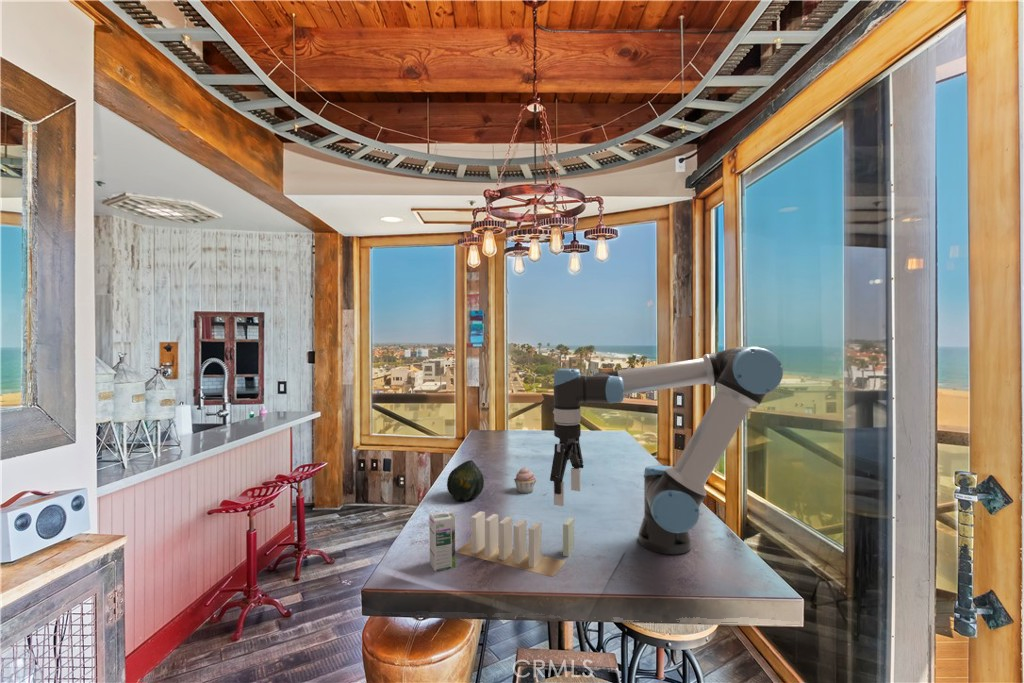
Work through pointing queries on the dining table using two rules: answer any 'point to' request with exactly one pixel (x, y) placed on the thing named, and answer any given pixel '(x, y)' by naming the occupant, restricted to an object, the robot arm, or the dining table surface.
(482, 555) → the board
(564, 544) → the domino
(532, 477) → the cupcake
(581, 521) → the dining table surface
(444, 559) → the syrup box
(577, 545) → the dining table surface
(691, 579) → the dining table surface
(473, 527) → the domino
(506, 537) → the domino
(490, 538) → the domino
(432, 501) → the dining table surface
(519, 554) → the domino
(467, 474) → the squash
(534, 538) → the domino
